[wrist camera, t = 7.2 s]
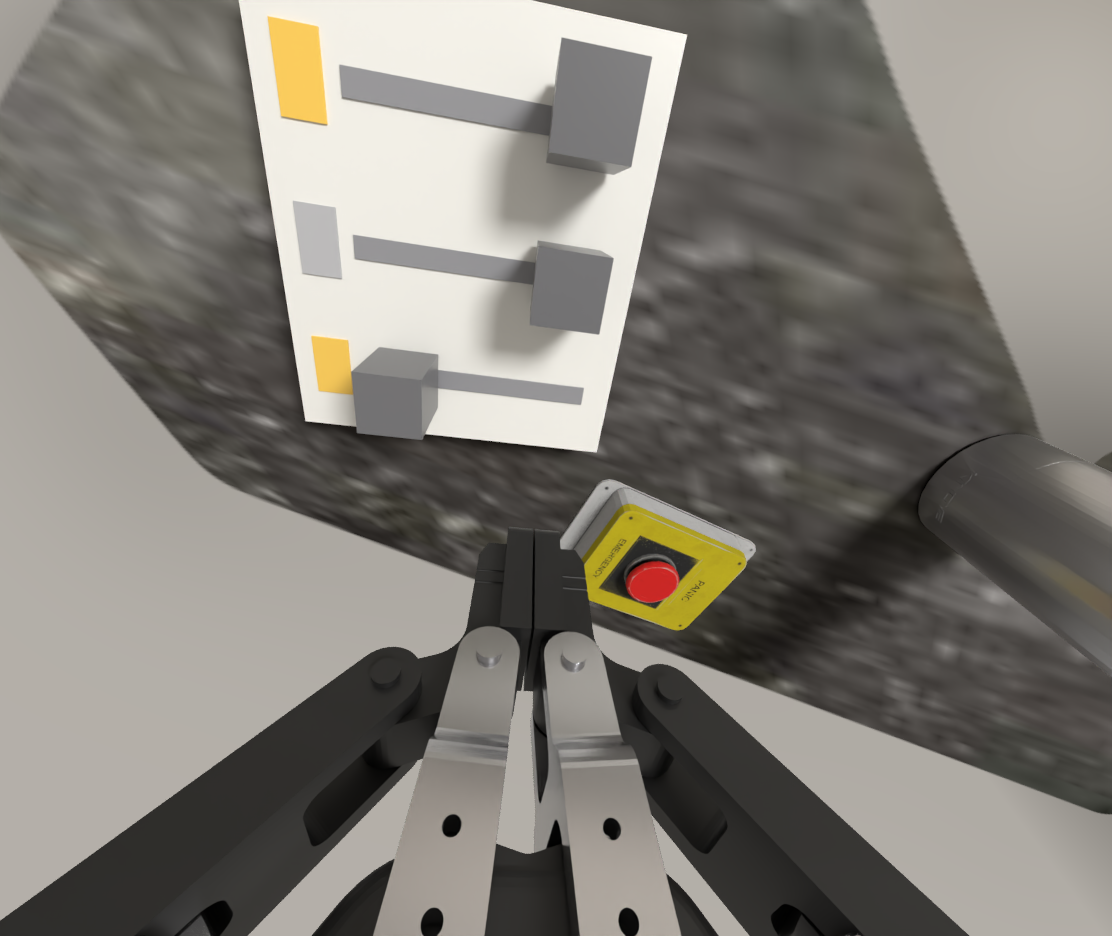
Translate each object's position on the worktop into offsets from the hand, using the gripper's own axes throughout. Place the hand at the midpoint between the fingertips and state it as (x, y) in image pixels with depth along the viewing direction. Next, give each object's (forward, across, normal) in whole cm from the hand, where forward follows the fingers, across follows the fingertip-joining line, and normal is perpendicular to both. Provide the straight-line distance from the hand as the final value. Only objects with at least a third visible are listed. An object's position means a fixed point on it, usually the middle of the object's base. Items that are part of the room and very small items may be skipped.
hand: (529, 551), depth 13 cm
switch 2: (+13, -1, -12) cm, 18 cm away
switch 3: (+13, -1, -6) cm, 14 cm away
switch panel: (+16, +4, -6) cm, 18 cm away
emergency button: (+17, -11, +14) cm, 25 cm away
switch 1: (+13, +7, 0) cm, 15 cm away
